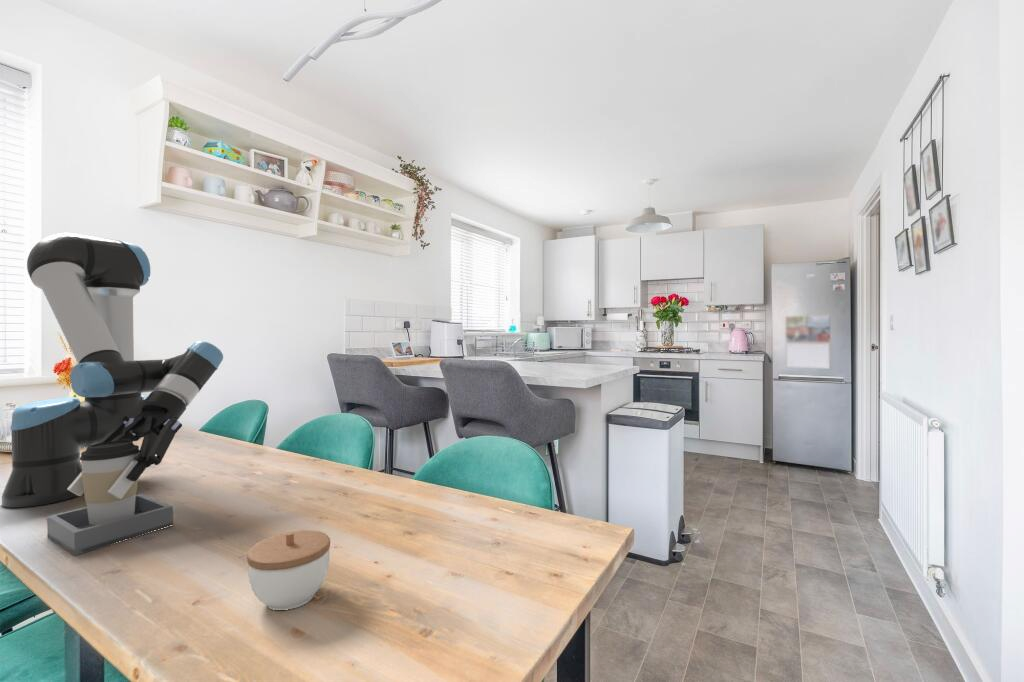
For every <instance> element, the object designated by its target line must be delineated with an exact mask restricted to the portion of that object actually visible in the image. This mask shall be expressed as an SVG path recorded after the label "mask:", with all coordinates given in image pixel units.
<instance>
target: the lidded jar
mask: <svg viewBox="0 0 1024 682" xmlns="http://www.w3.org/2000/svg"><path fill="white" fill-rule="evenodd" d="M330 548H331V539H330V536H329V535H328V534H327V533H325V532H322V531H320V530H313V529H311V530H308V529H307V530H305V529H304V530H301V529H300V530H292V531H288V532H283V533H279V534H278V533H277V534H275V535H272V536H270V537H269V536H268V537H266V538H264V539H262V540H260V541H258V542H257V543H254V545H253V546H251V547H250V549H249V550H248V551H247V556H246V561H247V564H248V566H247V568H248V580H249V584H250V587H251V590H252V592H253V594H254V596H255V597H256V598H257V600H259V601H260V603H262V604H264V605H266V607H267V606H268V607H269V608H271V609H274V610H286V609H291V610H293V609H292V608H295V609H297V608H296V607H298V608H300V607H302V605H303V606H305V605H306V604H308V603H310V601H311V600H312V599H313V598H314V596H315V594H317V592H318V591H319V590H320V588H321V587H322V585H323V584H324V582H325V579H326V577H327V574H328V570H329V563H330ZM304 604H305V605H304ZM268 607H267V608H268ZM269 608H268V609H269ZM271 609H270V610H271ZM274 610H273V611H274Z"/></svg>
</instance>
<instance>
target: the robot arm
mask: <svg viewBox="0 0 1024 682" xmlns="http://www.w3.org/2000/svg"><path fill="white" fill-rule="evenodd" d="M26 259H27V260H26V269H27V273H28V276H29V278H30V280H31V282H32V284H33V285H34V286H35V287H36V288H38V289H41V290H42V292H43V294H44V296H45V299H46V300H47V302H48V305H49V306H50V309H51V311H52V313H53V315H54V317H55V319H56V321H57V323H58V325H59V327H60V329H61V332H62V334H63V335H64V337H65V340H66V341H67V343H68V346H69V348H70V350H71V353H72V354H73V357H74V358H75V361H76V362H77V364H75V365H74V366H73V367H72V369H71V372H70V376H69V380H70V382H71V383H70V387H71V390H72V391H73V392H74V393H75V395H77V396H79V397H82V398H84V401H80V399H79V398H78V397H76V396H65V397H58V398H50V399H44V400H38V401H35V402H30V403H26V404H23V405H20V406H18V407H16V408H15V409H14V410H13V411H12V415H11V423H10V427H9V428H10V430H11V463H12V465H11V468H12V469H11V473H10V475H9V477H8V479H7V481H6V485H5V486H4V489H3V492H2V494H1V506H2V507H6V508H26V507H27V508H28V507H34V506H41V505H47V504H49V505H50V504H52V503H59V502H62V501H67V500H70V499H73V498H77V497H83V495H84V488H83V481H82V473H81V472H82V463H81V460H80V457H81V453H80V452H81V451H80V450H81V448H88V446H90V445H93V444H97V443H103V442H111V441H118V440H120V439H124V438H127V439H131V441H132V442H133V443H134V442H137V441H139V440H140V439H142V438H143V439H142V442H141V445H140V447H139V448H140V449H139V450H140V451H139V454H138V456H137V457H136V458H137V459H136V458H134V459H135V460H136V461H138V462H135V461H131V462H130V464H129V465H128V466H127V467H126V469H125V470H124V471H123V473H122V474H121V475H120V476H119V478H118V479H117V480H116V481H115V483H114V484H113V485H112V487H111V488H110V489H109V490H108V493H110V494H111V495H113V496H114V497H116V498H117V499H122V497H123V496H124V495H125V493H126V492H127V491H128V489H129V488H130V487H131V485H132V484H133V483H134V481H136V480H137V479H138V480H139V479H140V477H141V476H142V474H143V473H144V471H145V470H146V469H147V468H149V467H151V466H152V465H155V466H158V465H160V464H161V463H162V461H163V459H164V456H165V455H166V453H167V451H168V449H169V447H170V445H171V443H172V441H173V439H174V438H175V435H176V434H177V433H178V431H179V430H181V428H182V427H183V424H182V423H181V422H180V421H179V419H180V417H181V416H183V414H184V412H185V411H186V410H187V407H188V406H189V405H190V404H191V403H192V402H193V400H194V399H195V397H196V396H197V395H198V393H200V391H201V390H202V388H204V386H205V385H206V384H207V382H208V381H209V380H210V378H211V377H212V376H213V374H215V372H216V371H217V370H218V369H219V366H220V365H221V363H222V362H223V360H224V354H223V352H222V351H221V349H220V348H218V347H217V346H216V345H214V344H212V343H210V342H209V341H204V340H198V341H195V342H193V343H192V344H191V345H190V346H189V347H187V348H186V351H185V352H184V353H182V354H179V355H177V356H174V357H170V358H166V359H165V358H163V359H147V360H145V359H142V360H141V359H140V360H135V358H134V355H135V354H134V352H135V351H134V345H135V344H134V298H135V296H136V295H138V294H139V293H140V292H141V287H142V286H145V285H147V284H148V282H149V278H150V277H151V264H150V259H149V257H148V255H147V253H146V252H145V251H144V250H143V248H142V247H140V246H139V245H137V244H135V243H130V242H126V241H124V240H123V241H122V240H116V239H110V238H103V237H97V236H89V235H83V234H78V233H72V232H62V233H57V234H56V233H55V234H52V235H49V236H47V237H45V238H43V239H42V240H39V242H37V243H36V244H35V245H34V246H33V247H32V249H31V250H30V252H29V253H28V256H27V258H26ZM143 393H149V394H148V396H145V395H142V394H143Z"/></svg>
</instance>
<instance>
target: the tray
mask: <svg viewBox="0 0 1024 682" xmlns="http://www.w3.org/2000/svg"><path fill="white" fill-rule="evenodd" d="M46 522H47V524H46V525H47V526H46V528H47V538H48V539H49V540H51V541H53V542H54V543H56V544H57V545H59V546H60V547H62V548H63V549H64V550H66V551H68V552H69V553H70V554H72V555H73V556H78V555H82V554H85V553H88V552H91V551H95V550H99V549H102V548H104V547H108V546H111V544H112V545H114V543H115V544H117V543H116V542H118V543H120V542H119V541H122V542H124V541H123V540H125V539H128V540H130V539H129V538H132V539H134V538H133V537H135V538H137V537H136V536H138V537H140V536H139V535H142V534H145V533H148V532H151V531H154V530H158V529H161V528H164V527H167V526H170V525H173V526H174V506H173V505H171V504H168V503H166V502H163V501H160V500H158V499H156V498H153V497H150V496H148V495H146V494H143V493H139V494H136V497H135V511H134V515H132V516H129V517H125V518H121V519H117V520H114V521H110V522H106V523H102V524H99V525H91V524H89V519H88V511H87V506H85V507H82V508H76V509H72V510H68V511H67V510H66V511H64V512H59V513H56V514H51V515H47V518H46ZM158 531H159V530H158ZM148 534H149V533H148ZM145 535H146V534H145ZM142 536H143V535H142ZM125 541H126V540H125Z"/></svg>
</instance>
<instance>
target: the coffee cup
mask: <svg viewBox="0 0 1024 682" xmlns="http://www.w3.org/2000/svg"><path fill="white" fill-rule="evenodd" d="M139 448H140V446H139V445H137V444H134V441H133V442H132V441H131V439H127V438H124V439H120V440H118V441H111V442H103V443H97V444H93V445H90V446H88V447H86V449H85V450H84V451H82V452H81V453H80V462H81V464H82V472H81V473H82V481H83V488H84V494H83V495H84V501H85V504H86V507H87V511H88V519H89V524H91V525H99V524H102V523H106V522H110V521H114V520H117V519H121V518H125V517H129V516H132V515H134V511H135V497H136V495H137V492H138V481H139V478H138V479H137V480H136V481H134V483H133V484H132V485H131V487H130V488H129V489H128V491H127V492H126V493H125V495H124V496H123V497H122V499H117V498H116V497H114V496H113V495H111V494H110V493H108V490H109V489H110V488H111V487H112V485H113V484H114V483H115V481H116V480H117V479H118V478H119V476H120V475H121V474H122V473H123V471H124V470H125V469H126V467H127V466H128V465H129V464H130V462H131V461H135V462H138V461H136V460H135V459H134V458H136V457H137V456H138V454H139V451H140V449H139ZM136 459H137V458H136Z"/></svg>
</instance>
